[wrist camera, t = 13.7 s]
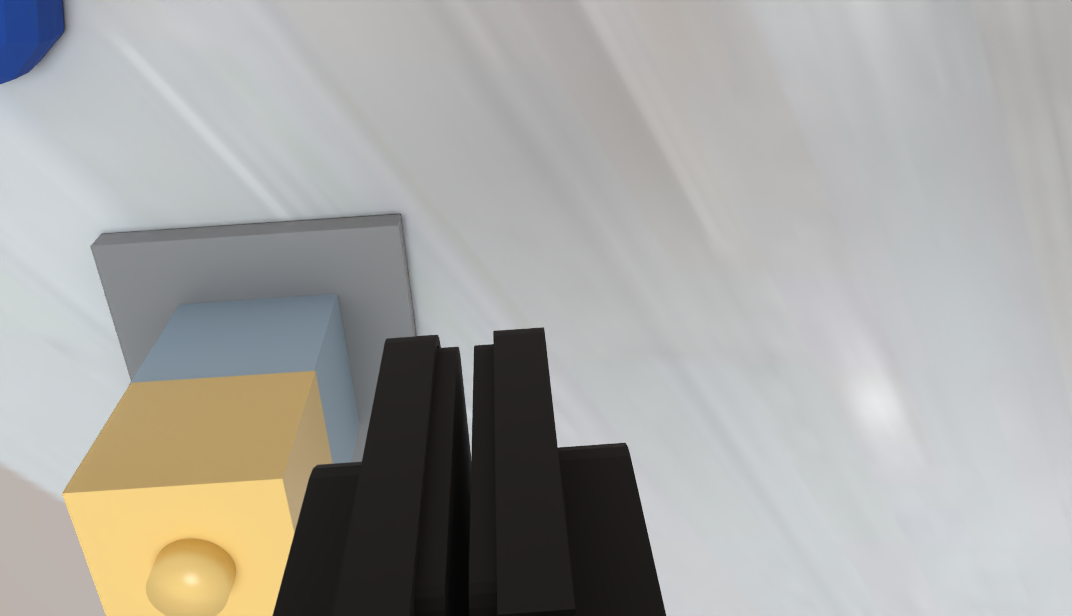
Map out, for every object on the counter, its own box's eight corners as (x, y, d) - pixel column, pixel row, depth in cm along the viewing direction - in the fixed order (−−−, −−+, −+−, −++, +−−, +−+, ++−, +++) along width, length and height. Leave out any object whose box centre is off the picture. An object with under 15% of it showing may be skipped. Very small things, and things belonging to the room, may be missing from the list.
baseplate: (400, 214, 38) (395, 235, 36) (431, 454, 43) (429, 484, 42) (101, 233, 38) (80, 256, 36) (171, 472, 43) (156, 503, 41)
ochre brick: (315, 371, 33) (275, 501, 27) (342, 513, 36) (311, 660, 30) (131, 382, 33) (47, 516, 26) (172, 524, 36) (107, 674, 29)
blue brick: (337, 293, 38) (308, 387, 32) (359, 423, 41) (337, 532, 35) (179, 304, 38) (119, 400, 32) (212, 433, 41) (164, 544, 35)
